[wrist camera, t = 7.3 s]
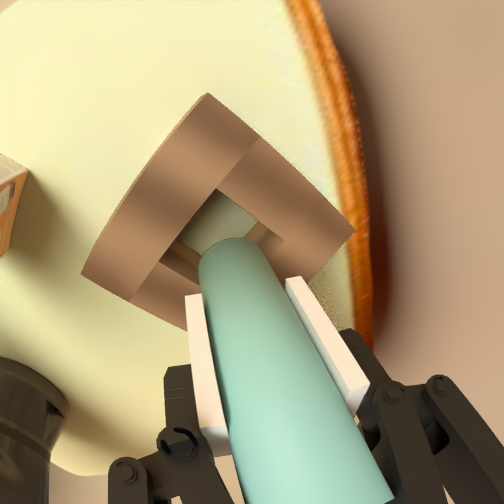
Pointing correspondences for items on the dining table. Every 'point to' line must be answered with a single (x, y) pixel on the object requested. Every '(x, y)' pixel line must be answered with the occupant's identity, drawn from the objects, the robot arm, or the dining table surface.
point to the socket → (190, 200)
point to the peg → (279, 391)
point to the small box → (9, 197)
